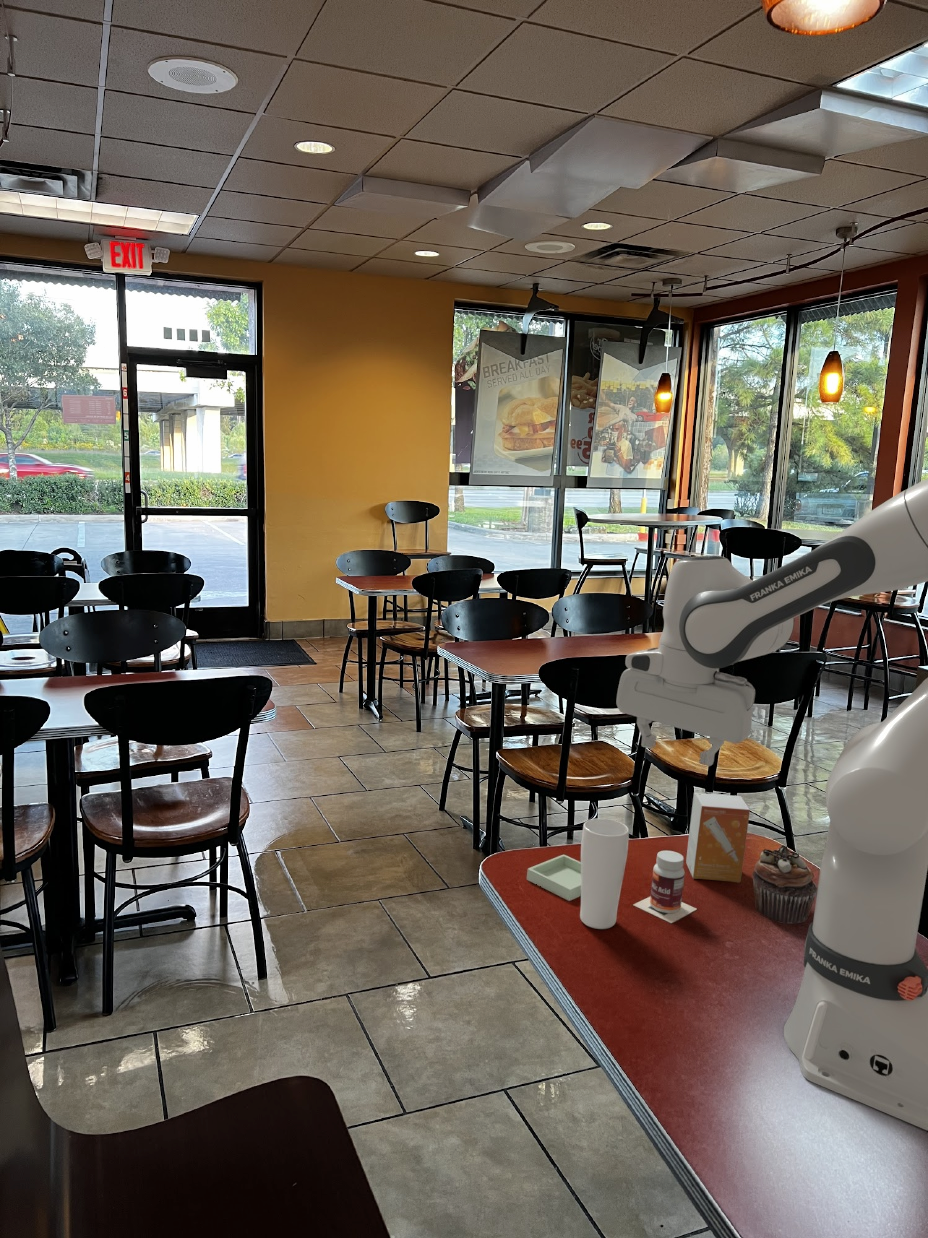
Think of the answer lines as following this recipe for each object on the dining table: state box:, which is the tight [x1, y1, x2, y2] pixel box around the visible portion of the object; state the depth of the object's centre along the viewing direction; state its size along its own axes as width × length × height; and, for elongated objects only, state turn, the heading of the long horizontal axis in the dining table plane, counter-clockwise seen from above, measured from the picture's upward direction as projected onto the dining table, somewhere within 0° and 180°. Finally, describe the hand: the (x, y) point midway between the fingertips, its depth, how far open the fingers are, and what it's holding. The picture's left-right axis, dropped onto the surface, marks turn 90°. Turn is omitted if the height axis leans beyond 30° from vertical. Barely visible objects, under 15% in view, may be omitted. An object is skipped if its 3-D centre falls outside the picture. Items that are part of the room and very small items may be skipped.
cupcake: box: [752, 844, 818, 925], centre depth 142 cm, size 10×10×10 cm
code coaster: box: [632, 896, 698, 924], centre depth 142 cm, size 7×7×1 cm
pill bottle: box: [649, 850, 686, 913], centre depth 141 cm, size 5×5×8 cm
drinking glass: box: [579, 817, 630, 930], centre depth 135 cm, size 7×7×15 cm
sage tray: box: [526, 854, 581, 902], centre depth 148 cm, size 9×9×2 cm
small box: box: [685, 792, 751, 883], centre depth 154 cm, size 8×6×13 cm
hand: (676, 755), depth 136 cm, fingers open, 8 cm apart
